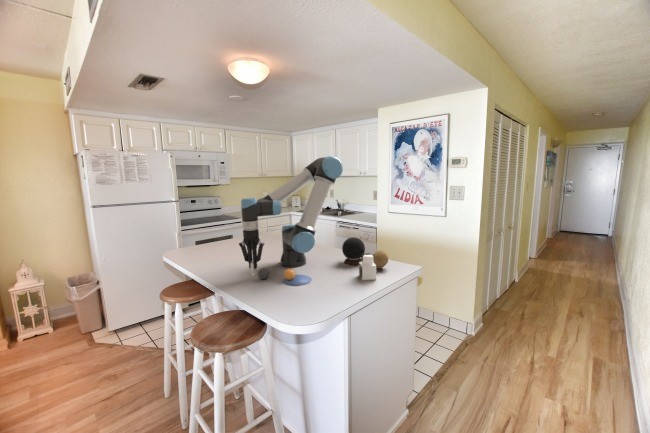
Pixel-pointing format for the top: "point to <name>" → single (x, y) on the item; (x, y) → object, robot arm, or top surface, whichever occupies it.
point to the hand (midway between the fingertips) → (253, 274)
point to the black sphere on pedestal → (353, 251)
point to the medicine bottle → (367, 267)
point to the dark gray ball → (263, 273)
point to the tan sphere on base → (380, 259)
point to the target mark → (298, 280)
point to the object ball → (289, 274)
